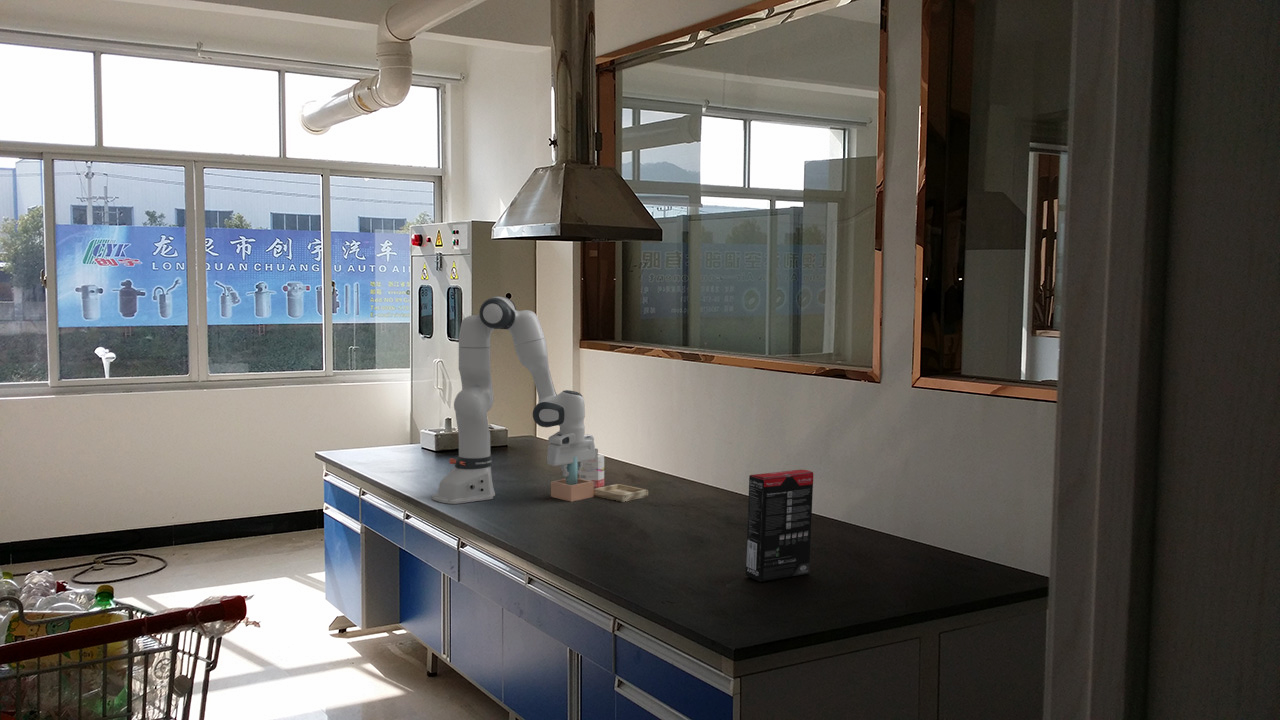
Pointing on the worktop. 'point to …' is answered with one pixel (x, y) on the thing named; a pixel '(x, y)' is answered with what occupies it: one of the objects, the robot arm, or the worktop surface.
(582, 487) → the cup
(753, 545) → the graphics card box
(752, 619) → the worktop surface
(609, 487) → the birch tray
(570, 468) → the teal peg
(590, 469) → the ink cartridge box
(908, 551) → the worktop surface
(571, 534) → the worktop surface
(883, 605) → the worktop surface
